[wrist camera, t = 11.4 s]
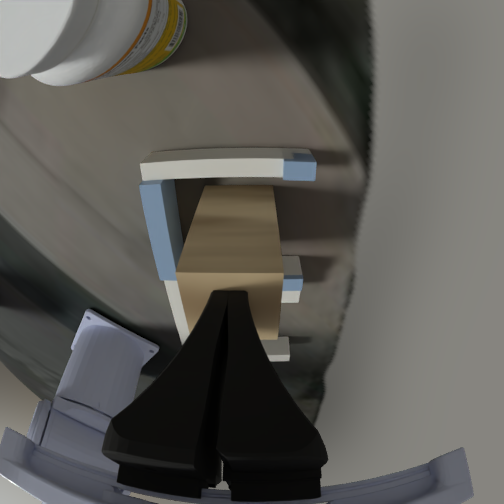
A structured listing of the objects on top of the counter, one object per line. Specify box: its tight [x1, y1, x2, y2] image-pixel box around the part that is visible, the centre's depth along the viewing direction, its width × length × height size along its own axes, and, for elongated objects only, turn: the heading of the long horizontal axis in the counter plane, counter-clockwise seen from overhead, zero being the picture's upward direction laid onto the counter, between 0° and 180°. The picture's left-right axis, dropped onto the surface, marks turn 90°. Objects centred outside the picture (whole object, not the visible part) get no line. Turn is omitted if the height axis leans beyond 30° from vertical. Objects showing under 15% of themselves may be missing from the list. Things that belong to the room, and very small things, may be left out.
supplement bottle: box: [0, 0, 187, 86], centre depth 7 cm, size 5×5×10 cm
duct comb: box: [139, 148, 317, 361], centre depth 20 cm, size 18×9×3 cm, turn 0°
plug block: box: [175, 185, 284, 340], centre depth 15 cm, size 4×4×8 cm
